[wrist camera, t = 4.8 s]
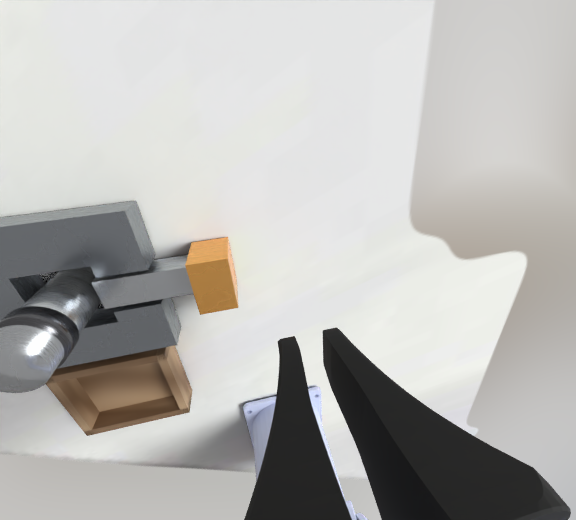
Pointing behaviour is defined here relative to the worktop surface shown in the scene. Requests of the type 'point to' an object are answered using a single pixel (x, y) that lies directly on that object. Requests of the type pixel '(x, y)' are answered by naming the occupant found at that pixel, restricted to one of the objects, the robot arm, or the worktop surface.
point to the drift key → (178, 279)
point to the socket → (103, 261)
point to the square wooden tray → (123, 390)
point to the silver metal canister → (45, 330)
